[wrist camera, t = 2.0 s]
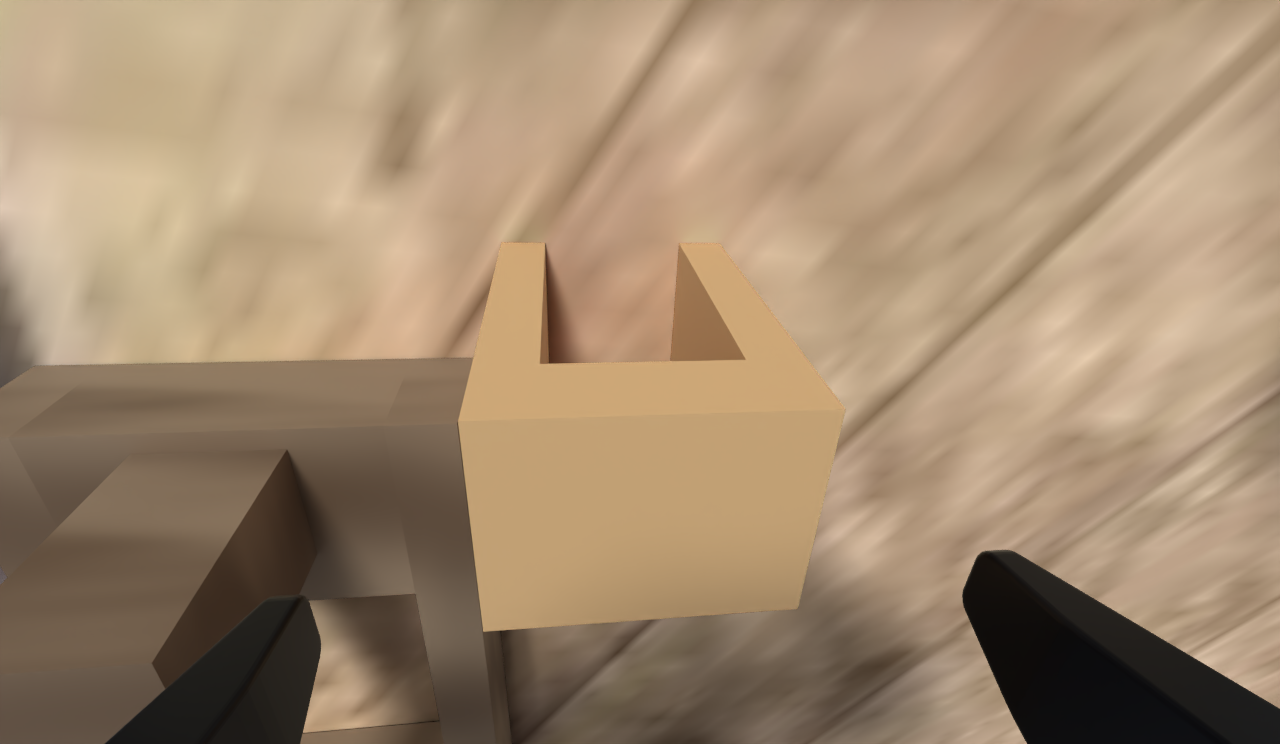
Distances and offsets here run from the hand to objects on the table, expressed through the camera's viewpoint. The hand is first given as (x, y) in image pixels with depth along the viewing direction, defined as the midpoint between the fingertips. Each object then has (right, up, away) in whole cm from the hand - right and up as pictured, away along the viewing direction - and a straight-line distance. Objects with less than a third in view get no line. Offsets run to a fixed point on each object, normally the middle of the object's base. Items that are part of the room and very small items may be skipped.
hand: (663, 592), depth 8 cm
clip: (-1, +4, +7) cm, 9 cm away
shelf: (-10, -6, +12) cm, 16 cm away
